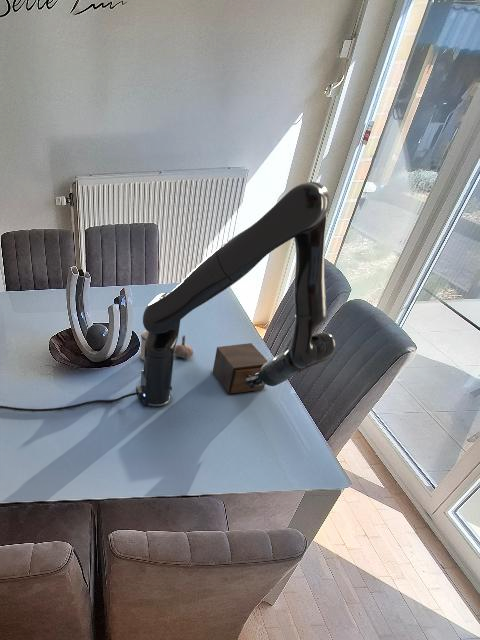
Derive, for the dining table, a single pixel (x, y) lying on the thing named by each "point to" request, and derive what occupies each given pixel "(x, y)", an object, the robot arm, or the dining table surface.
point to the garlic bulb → (183, 350)
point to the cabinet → (235, 362)
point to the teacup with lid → (143, 342)
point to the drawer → (244, 380)
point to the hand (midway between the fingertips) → (252, 385)
